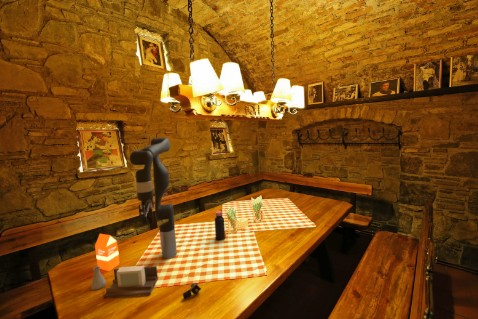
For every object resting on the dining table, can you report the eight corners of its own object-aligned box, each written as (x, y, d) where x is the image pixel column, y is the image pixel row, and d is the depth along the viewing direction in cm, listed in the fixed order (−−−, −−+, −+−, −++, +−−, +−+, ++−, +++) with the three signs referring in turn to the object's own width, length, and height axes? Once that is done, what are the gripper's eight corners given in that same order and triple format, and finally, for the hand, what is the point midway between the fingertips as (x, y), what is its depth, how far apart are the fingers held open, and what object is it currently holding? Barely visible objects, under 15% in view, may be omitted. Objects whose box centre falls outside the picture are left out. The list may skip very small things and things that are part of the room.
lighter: (188, 303, 107) (182, 297, 105) (187, 301, 109) (180, 295, 107) (201, 289, 110) (195, 283, 108) (200, 287, 111) (193, 281, 109)
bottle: (216, 236, 169) (214, 210, 166) (225, 236, 169) (224, 210, 166) (215, 240, 162) (213, 213, 159) (224, 240, 162) (223, 213, 159)
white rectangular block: (118, 289, 114) (116, 272, 112) (122, 283, 118) (120, 267, 117) (142, 287, 114) (140, 270, 113) (145, 281, 118) (144, 265, 117)
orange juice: (108, 271, 132) (104, 238, 129) (97, 268, 135) (93, 236, 132) (120, 263, 139) (116, 232, 137) (109, 261, 142) (105, 230, 140)
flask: (89, 292, 115) (86, 273, 113) (92, 283, 121) (89, 266, 120) (105, 287, 117) (103, 269, 116) (107, 279, 124) (105, 262, 123)
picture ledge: (116, 282, 122) (114, 268, 121) (157, 279, 122) (156, 266, 122) (104, 298, 110) (102, 284, 109) (150, 294, 111) (148, 280, 110)
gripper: (147, 193, 109) (150, 225, 111) (156, 186, 123) (159, 214, 125) (131, 194, 109) (135, 226, 111) (142, 186, 123) (145, 215, 125)
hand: (148, 220), depth 118 cm, fingers open, 8 cm apart
